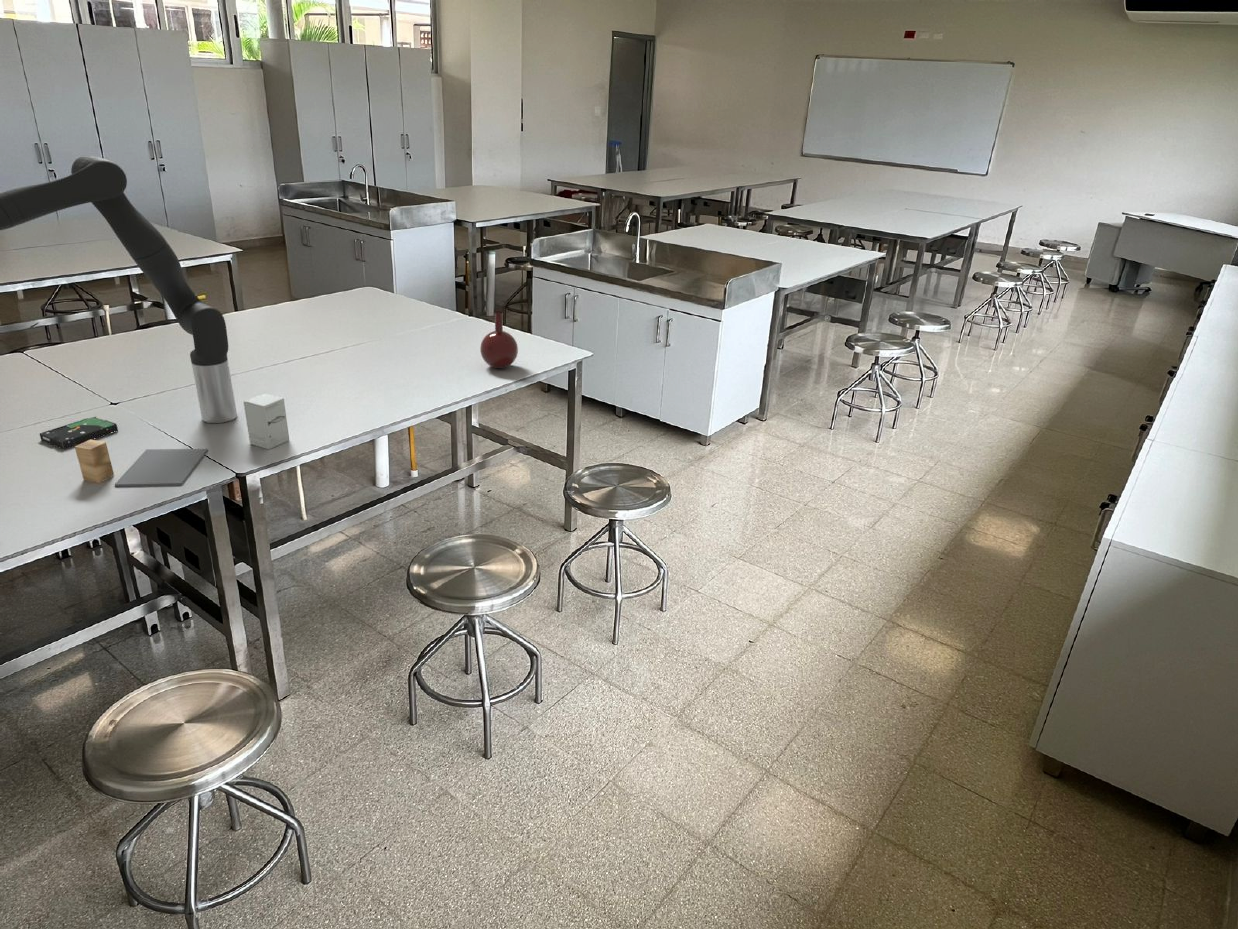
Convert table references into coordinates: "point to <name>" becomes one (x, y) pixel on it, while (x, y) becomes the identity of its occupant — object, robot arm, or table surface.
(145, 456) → the rubber mat
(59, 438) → the disk drive
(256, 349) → the table surface
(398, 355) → the table surface
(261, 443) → the supplement box
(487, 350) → the round-bottom flask
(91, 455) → the oak block
